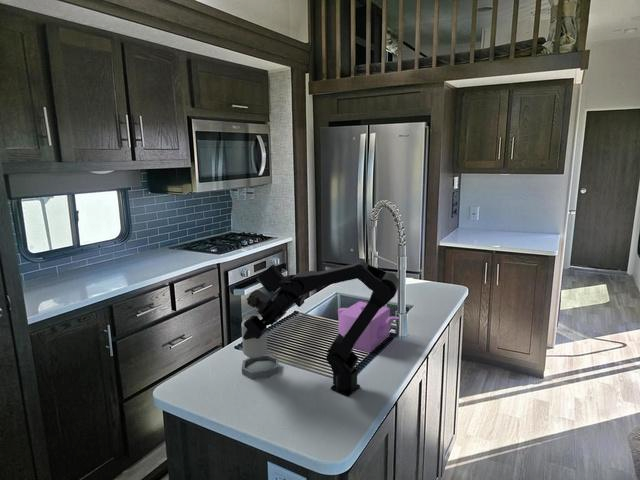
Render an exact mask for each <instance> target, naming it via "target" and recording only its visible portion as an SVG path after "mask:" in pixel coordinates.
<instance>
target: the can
mask: <svg viewBox="0 0 640 480" xmlns="http://www.w3.org/2000/svg"><path fill="white" fill-rule="evenodd" d="M252 315H254V316H257V317H258V318H259V319H260V320H261V319H262V317H261V314H249V315H247V316H245V317H244V318H243V319H242V322H241V324H240V325H241V339H242V354H243V355H244V356H246V357H247V358H258V357H261V356H263V355H265V354H266V353H267V351H268V343H267V331H266V332H265V333H264V334H263V335H262V336H261V337H260V338H259V339H256V338H251V339H247V340H245V339H244V338H243V336H244V334H245V333H246V331H247V328H246V327H245V326H244V322H245V321H246V320H247V319H249V318H250V317H251V316H252ZM264 322H265V321H264ZM264 322H263V323H264Z"/></svg>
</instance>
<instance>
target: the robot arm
mask: <svg viewBox="0 0 640 480" xmlns="http://www.w3.org/2000/svg"><path fill="white" fill-rule="evenodd" d="M256 280H257V281H258V282H259V284H261V286H262V287H263V288H264V289H265V291H267V292H268V293H269V294H272V293H273V294H275V293H276V292H277V293H276V294H275V295H273V296H272V297H270V296H269V295H267V294H266V293H264V292H262V291H261V290H259V289H255V290H254V291H252V292H250V294H249V295H248V297H247V298H246V303H247V305H249V306H250V307H252V308H256V309H258V310H257V313H258V315H260V316H261V317H262V319H261V320H260V319H259V318H258V317H257V316H254V315H255V314H251V315H252V316H251V317H250V318H249V319H247V320H246V321H245V322H244V326H245V327H246V328H247V331H246V333H245V334H244V336H243V338H244V339H245V340H247V339H251V338H256V339H259V338H260V337H261V336H262V335H263V334H264V333H265V332H266V333H267V331H268V329H267V328H268V326H273V325H274V324H276V323H277V322H278V321H280V320H281V318H283V317H284V316H285V315H286V314H287V312H288V311H289V310H290V308H292V307H293V306H294V305H295V306H297V307H298V308H300V307H301V306H303V305H304V304H305V295H307V294H309V293H310V292H313V291H315V290H317V289H319V288H321V287H325V286H329V285H330V286H331V285H335V284H339V283H344V282H347V281H348V282H349V281H353V280H358V281H360V282H361V283H363V284H364V285H365V286H366V288H367V289H369V290H371V291H372V293H371V295H370V297H369V300H368V301H367V302H366V303H367V305H366V306H365V308H364V309H363V310H362V312H361V313H360V315H359V316H358V318H357V319H356V320H355V322H354V323H353V325H352V326H351V328H350V329H349V330H348V332H347V333H346V334H345V335H344V336H342V335H341V334H340V333H339V332H338V334H337V336H336V337H335V339H334V340H333V341H332V342H331V344H330V345H329V347H328V348H327V349H326V351H325V352H326V353H327V355H326V361H327V363H328V365H329V366H330V367H331V371H332V384H333V385H331V386H330V390H333V391H334V392H336V393H338V394H340V395H341V394H342V395H344V396H346V397H350V396H351V395H352V394H354V393H355V392H356V391H357V390H359V389H360V388H361V385H360V384H358V370H357V369H356V368H355V367H356V365H357V364H358V361H359V356H357V354H356V353H355V352H353V350H354V349H355V348H354V346H355V343H356V341H357V340H358V339H359V337H360V336H361V334H362V333H363V332H364V330H365V329H366V327H367V326H368V325H369V323H370V322H371V320H372V319H373V318H374V316H375V315H376V313H377V312H378V311H379V309H381V308H382V307H385V306H386V305H387V304H388V303H389V302H390V301H391V300H392V299H394V297H395V296H396V295H397V292H398V290H399V288H400V286H401V283H400V282H401V280H400V279H399V277H398V276H397V275H396V274H394V273H393V272H387V271H385V270H384V269H381V268H379V267H376V266H373V265H371V264H370V263H367V262H365V261H363V260H361V261H360V260H359V261H357V262H356V263H351V264H347V265H342V266H340V267H339V266H338V267H335V268H330V269H326V270H322V271H321V270H320V271H316V270H305V271H304V270H303V271H300V272H298V273H297V274H288V275H286V276H284V274H282V272H281V271H280V270H279V269H278V268H277V266H276V265H275V264H271V265H270V266H269V267H268V268H267V269H266V270H264V271H263V272H261V273H260V274H259V275H258V276H257V278H256ZM280 289H281V290H280ZM264 321H265V322H264ZM263 322H264V323H263Z"/></svg>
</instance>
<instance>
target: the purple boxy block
mask: <svg viewBox="0 0 640 480" xmlns="http://www.w3.org/2000/svg"><path fill="white" fill-rule="evenodd" d="M367 303H368V302H365V301H357V302H356V303H354V304H352V305H351V306H348V307H341V308H339V309H338V310H337V314H338V334H339V333H340V334H341V335H342V336H344V335H345V334H346V333H347V332H348V330H349V329H350V328H351V326H352V325H353V323H354V322H355V320H356V319H357V318H358V316H359V315H360V313H361V312H362V310H363V309H364V308H365V306H366V305H367ZM399 319H400V317H399V316H391V308H390V307H386V306H383V307H382V308H381V309H379V311H378V312H377V313H376V315H375V316H374V318H373V319H372V320H371V322H370V323H369V325H368V326H367V327H366V329H365V330H364V332H363V333H362V334H361V336H360V337H359V339H358V340H357V341H356V343H355V346H354V348H353V349H355V350H358V349H359V350H358V351H361V350H362V351H361V352H364V351H366V352H365V353H368V352H371V351H372V350H373V349H374V350H376V349H377V348H378V347H379V346H380V345H381V344H380V343H381V342H383V341H384V340H385V339H386V338H388V337H389V338H390V329H391V326H392V323H393V322H394V321H396V320H399ZM389 338H388V339H389ZM386 340H387V339H386ZM386 340H385V341H386ZM385 341H384V342H385ZM384 342H383V343H384ZM379 344H380V345H379ZM378 345H379V346H378ZM377 346H378V347H377ZM376 347H377V348H376ZM375 348H376V349H375ZM374 350H373V351H374ZM373 351H372V352H373ZM372 352H371V353H372Z"/></svg>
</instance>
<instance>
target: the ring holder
mask: <svg viewBox="0 0 640 480" xmlns="http://www.w3.org/2000/svg"><path fill="white" fill-rule="evenodd" d="M279 361H280V360H279V358H278V357H276V356H273V355H271V354H269V353H267V354H266V353H265V354H264V355H263V356H261V357H258V358H249V357H247V358H246V359H243V360H242V365H241V374H242V375H243V376H245V377H247V378H250V379H251V380H259V379H260V380H261V379H269V378H270V377H272V376H274V375H276V374H278V373H279V372H280V370H279V369H280V367H279V365H280V362H279Z"/></svg>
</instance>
